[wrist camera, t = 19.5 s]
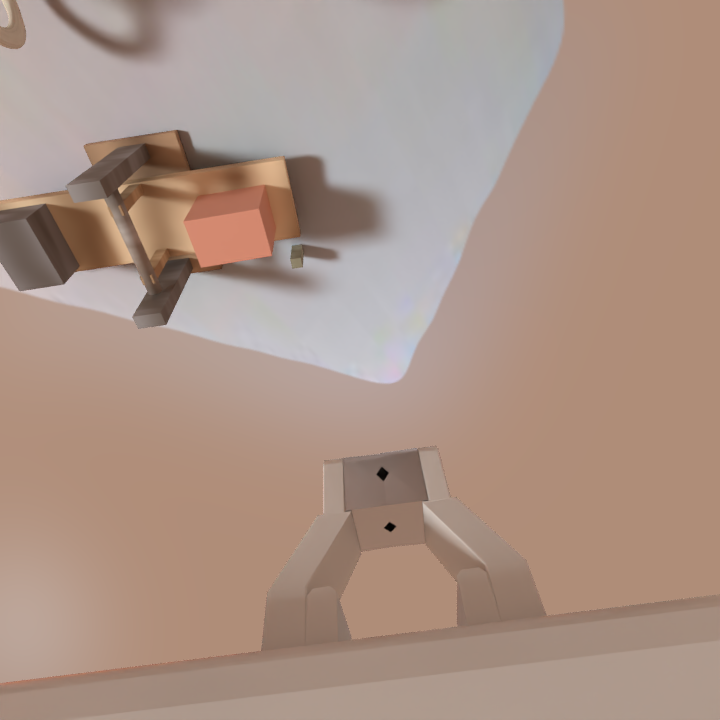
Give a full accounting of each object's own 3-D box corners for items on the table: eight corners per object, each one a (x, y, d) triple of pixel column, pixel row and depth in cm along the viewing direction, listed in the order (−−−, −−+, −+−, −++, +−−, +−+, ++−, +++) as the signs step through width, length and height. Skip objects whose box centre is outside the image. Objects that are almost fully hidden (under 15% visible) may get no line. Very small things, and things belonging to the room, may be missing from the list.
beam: (41, 280, 46) (7, 317, 41) (-14, 191, 41) (-62, 220, 35) (302, 240, 46) (301, 271, 40) (281, 144, 40) (277, 166, 35)
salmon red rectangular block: (212, 238, 44) (201, 267, 39) (197, 196, 41) (183, 221, 36) (276, 227, 43) (271, 255, 39) (264, 184, 41) (258, 208, 36)
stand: (147, 276, 49) (108, 338, 40) (87, 143, 41) (21, 184, 32) (303, 253, 48) (299, 310, 39) (273, 114, 40) (259, 148, 31)
